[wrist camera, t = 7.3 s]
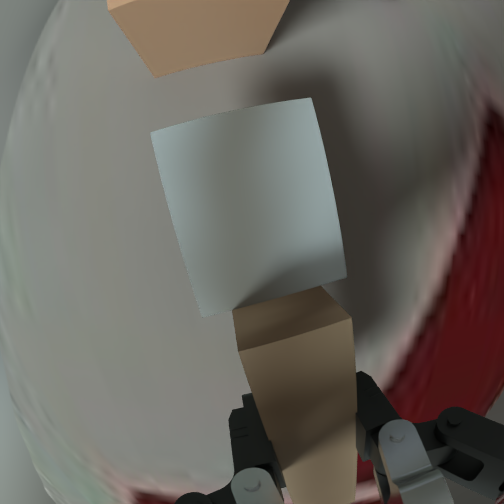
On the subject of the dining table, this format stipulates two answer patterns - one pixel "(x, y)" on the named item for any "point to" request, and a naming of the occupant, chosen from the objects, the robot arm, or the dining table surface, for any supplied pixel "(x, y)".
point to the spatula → (272, 277)
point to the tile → (196, 30)
